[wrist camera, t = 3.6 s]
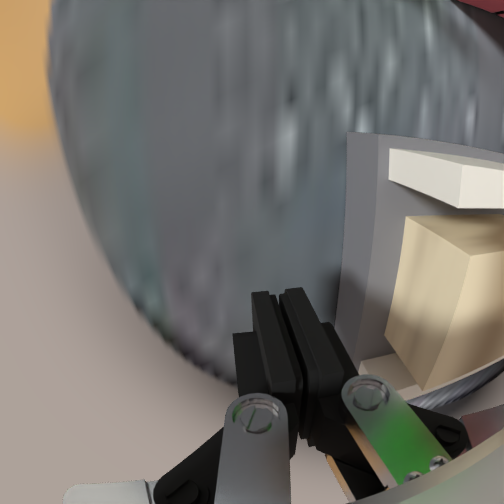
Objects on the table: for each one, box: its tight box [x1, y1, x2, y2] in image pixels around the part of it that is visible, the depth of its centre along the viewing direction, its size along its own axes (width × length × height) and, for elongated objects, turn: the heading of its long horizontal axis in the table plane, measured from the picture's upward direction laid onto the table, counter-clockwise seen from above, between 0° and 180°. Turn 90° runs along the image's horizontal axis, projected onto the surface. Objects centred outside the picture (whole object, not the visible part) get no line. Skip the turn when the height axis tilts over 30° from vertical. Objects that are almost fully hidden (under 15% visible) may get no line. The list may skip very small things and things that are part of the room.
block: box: [384, 214, 504, 391], centre depth 10 cm, size 7×6×4 cm
